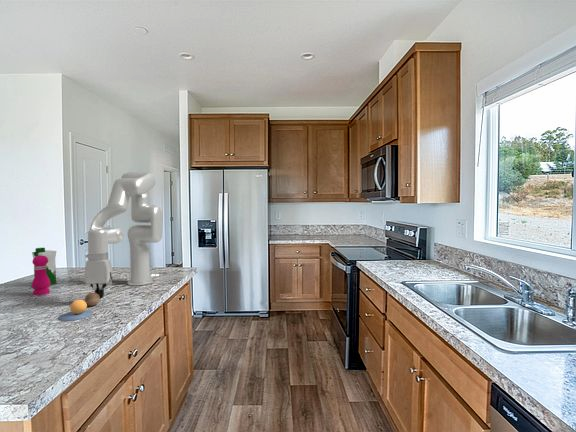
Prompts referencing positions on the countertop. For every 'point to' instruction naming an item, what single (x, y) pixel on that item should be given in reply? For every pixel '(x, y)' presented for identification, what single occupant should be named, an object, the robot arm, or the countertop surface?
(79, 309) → the object ball
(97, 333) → the countertop surface
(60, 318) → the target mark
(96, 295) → the brown egg
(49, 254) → the milk carton
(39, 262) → the pepper mill
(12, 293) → the countertop surface
